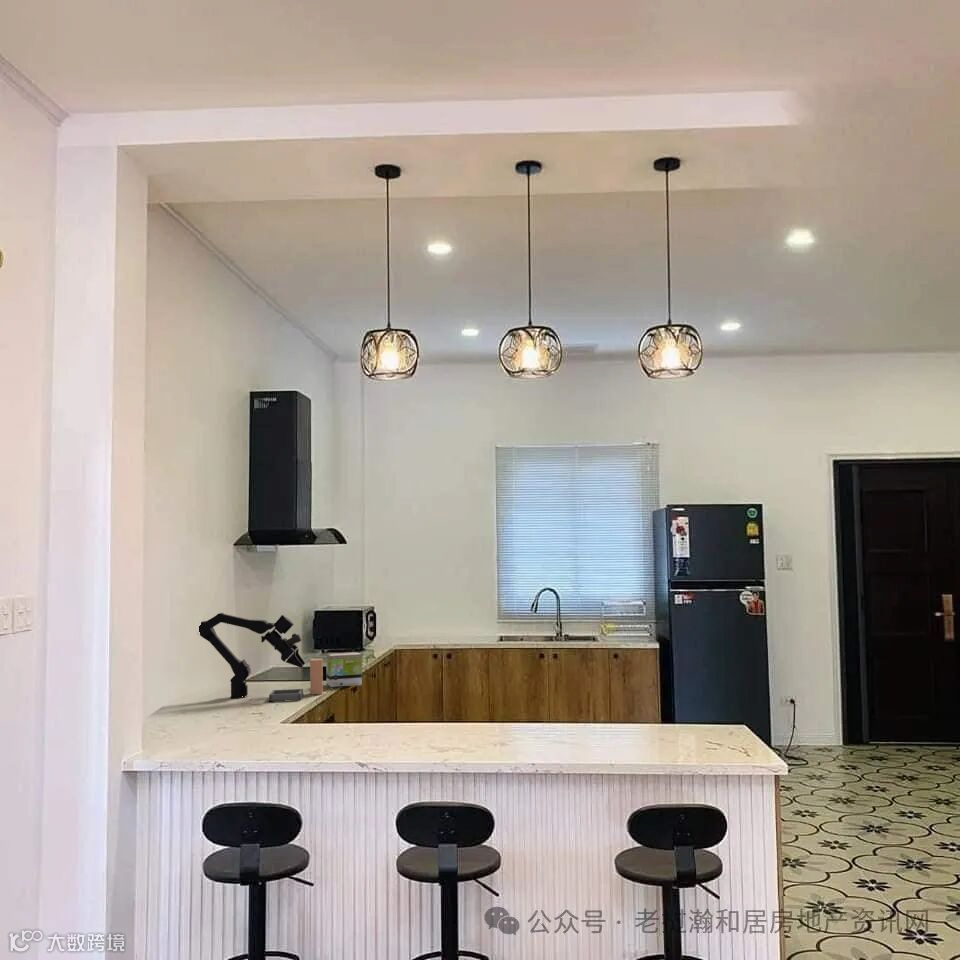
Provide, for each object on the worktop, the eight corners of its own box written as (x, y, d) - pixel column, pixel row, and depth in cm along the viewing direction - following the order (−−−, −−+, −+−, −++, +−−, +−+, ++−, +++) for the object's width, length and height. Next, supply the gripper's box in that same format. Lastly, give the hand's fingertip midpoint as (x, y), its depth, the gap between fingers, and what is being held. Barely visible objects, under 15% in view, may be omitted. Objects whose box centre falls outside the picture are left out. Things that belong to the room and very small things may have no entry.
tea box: (330, 688, 408) (330, 655, 409) (326, 685, 417) (325, 653, 418) (362, 685, 414) (362, 653, 415) (357, 682, 423) (356, 651, 424)
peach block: (310, 694, 389) (310, 660, 390) (311, 692, 395) (311, 658, 396) (322, 694, 390) (321, 660, 391) (323, 692, 396) (322, 658, 397)
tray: (269, 702, 373) (269, 694, 373) (273, 697, 386) (273, 690, 386) (300, 700, 375) (300, 693, 375) (303, 695, 387) (303, 688, 388)
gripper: (288, 630, 384) (314, 654, 385) (292, 626, 403) (317, 649, 403) (270, 649, 383) (296, 673, 383) (275, 644, 401) (300, 668, 402)
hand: (303, 665), depth 393 cm, fingers open, 9 cm apart
